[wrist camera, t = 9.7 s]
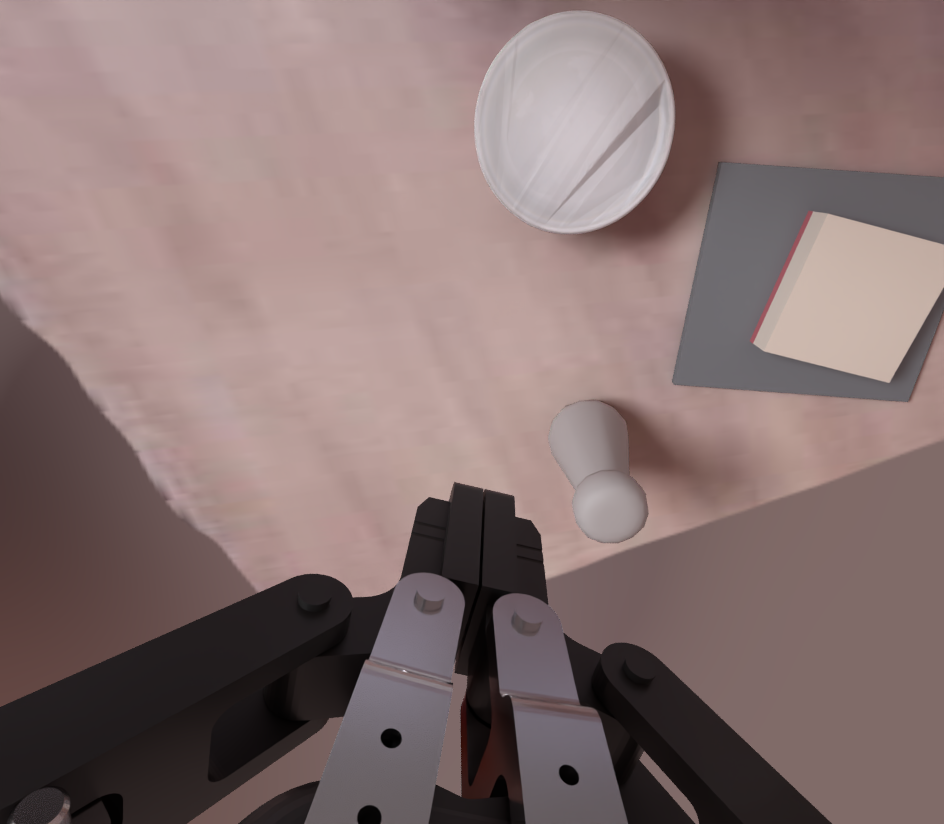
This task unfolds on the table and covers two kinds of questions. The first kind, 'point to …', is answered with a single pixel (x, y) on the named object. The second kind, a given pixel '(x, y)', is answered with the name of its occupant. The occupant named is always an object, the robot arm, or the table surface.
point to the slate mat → (761, 261)
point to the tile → (851, 296)
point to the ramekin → (574, 122)
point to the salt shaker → (598, 470)
